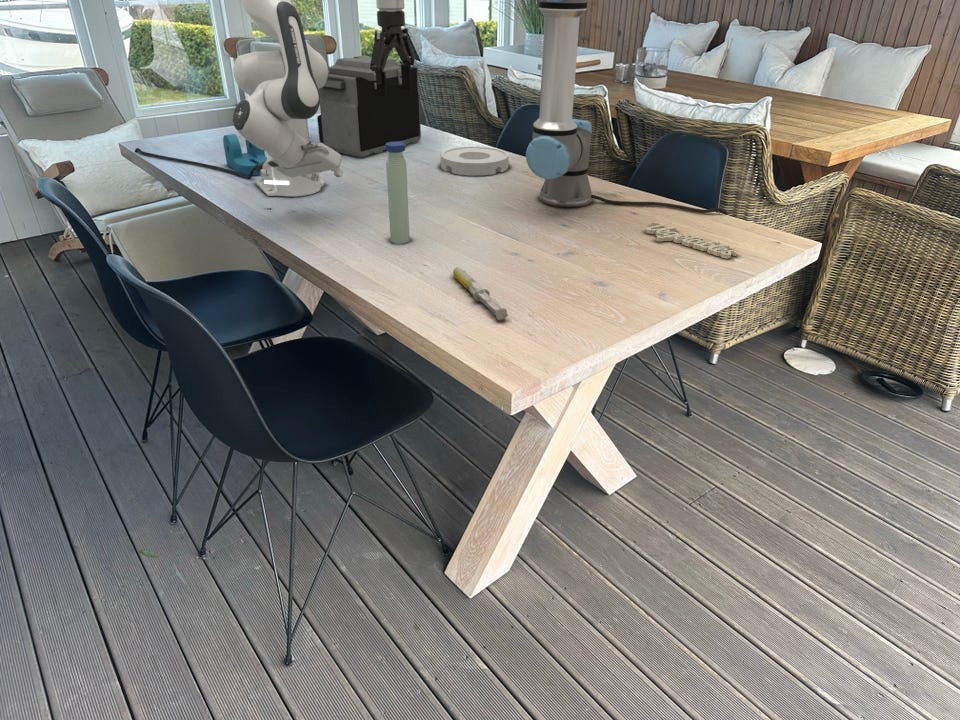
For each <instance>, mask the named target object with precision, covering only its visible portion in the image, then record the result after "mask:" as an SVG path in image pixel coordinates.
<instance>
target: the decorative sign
mask: <svg viewBox="0 0 960 720" xmlns="http://www.w3.org/2000/svg"><path fill="white" fill-rule="evenodd" d="M650 225H651V226H647V227H646V229H645V233H646V234H650V235H655V236H656V239H655V242H667V241H668V242H673V243H676V244H681V245H682V246H686V247H689V248H690V247H691V248H692V249H695V250H699V251H701V252H707V254H710V255H713V256H715V257H720V258H722V259H731V256H733V257H736V256H737V253H738V252H737V251H736V250H735V249H730V247H731V246H730V244H725V243H724V244H723V243H722V244H720V243H721V242H720V241H718V240H716V241H715V240H714V241H713V240H711V241H705V240H704V238H703V237H701V236H697V235H696V236H695V235H693V234H688V235H686V234H683V233H678V232H677V227H675V226H667V227H665V223H662V222H655V221H651V224H650Z"/></svg>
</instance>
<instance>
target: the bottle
mask: <svg viewBox="0 0 960 720" xmlns="http://www.w3.org/2000/svg"><path fill="white" fill-rule="evenodd" d="M403 153H404V151H403V152H399V153H391V152H388V155H387V159H386V164H385V168H386V184H387V185H386V186H387V203H388V205H387V206H388V223H389V235H390V236H389V237H390V242H391V243H393V244H397V245H400V244H401V245H402V244H406V243H409V242H410V240H411V239H410V221H409V219H410V218H409V217H410V216H409V214H410V213H409V195H408V194H409V193H408V192H409V191H408V172H407V171H408V169H407V168H408V167H407V161H406V159H405V157H404V154H403Z"/></svg>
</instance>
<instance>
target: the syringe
mask: <svg viewBox="0 0 960 720" xmlns="http://www.w3.org/2000/svg"><path fill="white" fill-rule="evenodd" d="M452 274H453V277H454V279H455V280H457V281H458V282H459V283H460V285H462V287H464V289H466V290H467V291H468V293H470V295H471V296H472V298H473V300H474V302H477V303H478V302H480V303H482V304H483V305H484V306H485V307H486V308H487V309H488V310H489V311H490V312H491V313H492V314H493V315H494V316H495V317H496V320H497V321H503V320H504V319H506V318H507V317H509V314H508V310H507V308H506V307H502V306H501V305H500V303H498V302H497V301H496V300H494V299H493V298H492V297H491V296H490V295H491V293H490V290H488V289H486V288H483V287H482V286H481V285H480V284H479V283H478V282H477V281H476V280H474V278H473V277H471V275H469V274H468V273H467V272H466V270H465V269H464V268H463V267H462V266H456V267H454V268H453V271H452Z"/></svg>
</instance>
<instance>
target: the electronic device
mask: <svg viewBox="0 0 960 720" xmlns="http://www.w3.org/2000/svg"><path fill="white" fill-rule="evenodd" d="M371 58H372V56H367V55H356V56H353V57H350V58H349V57H343V58H342V57H341V58H337V59H336V60H335V63H334V64H333V65H330V66H329V67H328V78H327V81H326V83H325V85H324V86H323V87H322V88H319V92H320V105H319V110H320V111H319V112H320V114H319V115H317V116H316V119H317V128H318V138H319V143H321V144H324V145H326V146H328V147H330V148H331V149H333V150H334V151H336V152H337V153H339V154H344V155H348V156H353V157H357V158H362V159H363V158H366V157H367V158H368V157H369V155H371V154H375V155H377V154H381V153H382V152H383V151H386V143H388V142H403V143H405V147H406V146H407V145H408V144H416V143H418V142H419V141H421V137H422V128H421V97H420V92H419V91H420V89H419V68H418V67H417V66H411V90H404V89H402V74H401V65H400V64H396V62H395V60H394V59H393V58H387V61H386V64H385V67H384V70H383V72H386V90H387V97H378V96H377V86H376V74H375V71H372V70H371V69H370V63H371ZM374 65H375V64H374Z"/></svg>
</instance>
